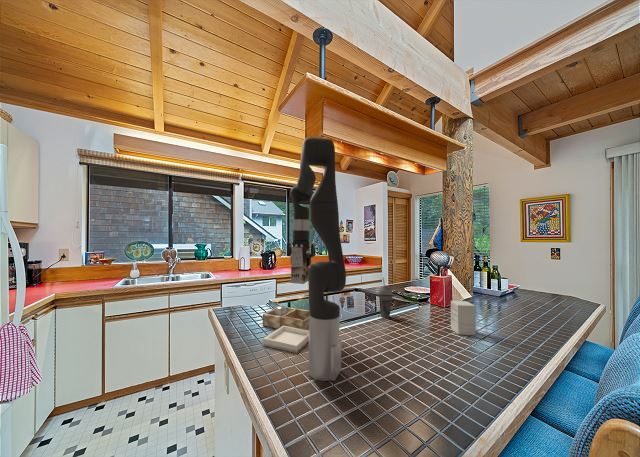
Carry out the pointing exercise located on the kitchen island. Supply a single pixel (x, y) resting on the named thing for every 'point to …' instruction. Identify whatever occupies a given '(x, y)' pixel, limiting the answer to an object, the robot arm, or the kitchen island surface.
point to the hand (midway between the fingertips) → (300, 265)
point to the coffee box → (299, 265)
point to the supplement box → (463, 317)
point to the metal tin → (280, 310)
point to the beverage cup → (385, 301)
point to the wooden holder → (287, 319)
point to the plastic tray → (287, 339)
